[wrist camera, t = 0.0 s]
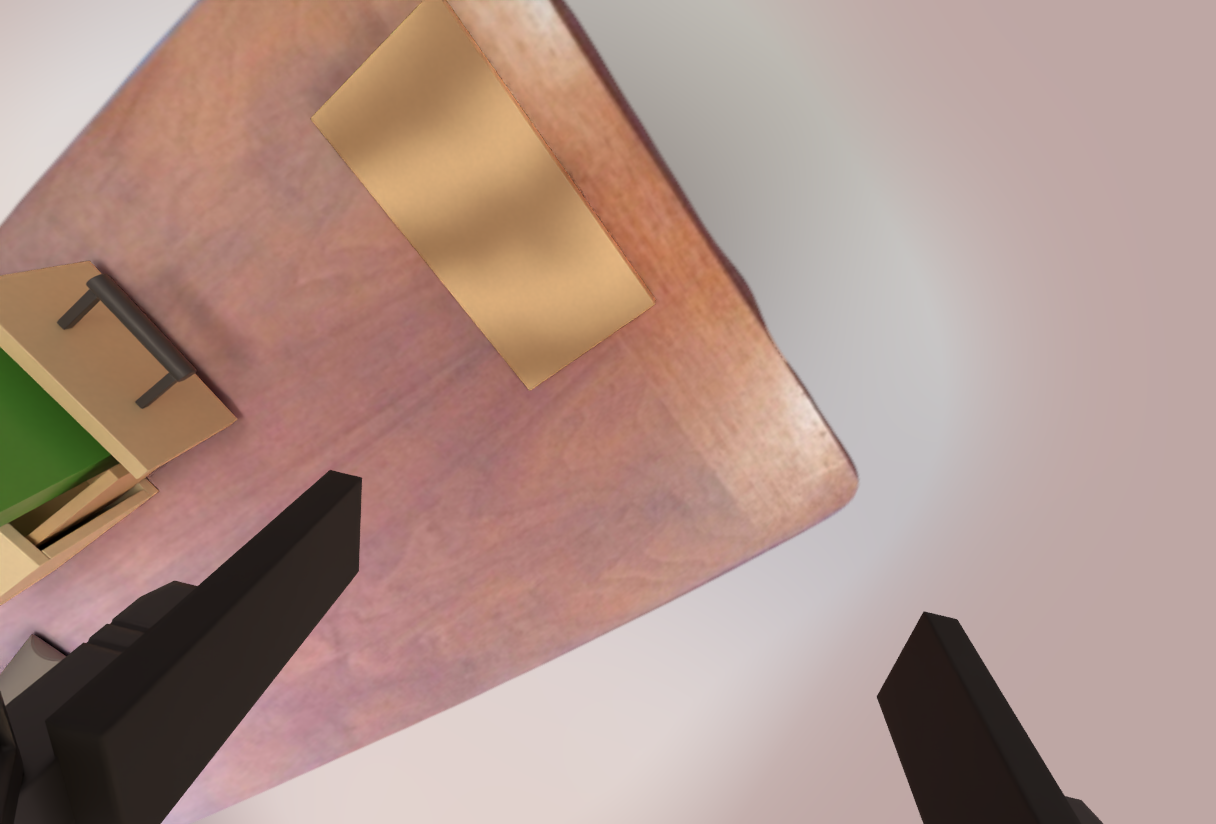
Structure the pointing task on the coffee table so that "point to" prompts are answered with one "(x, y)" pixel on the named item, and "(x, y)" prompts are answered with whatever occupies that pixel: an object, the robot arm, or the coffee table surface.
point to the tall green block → (39, 445)
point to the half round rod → (27, 667)
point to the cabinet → (59, 543)
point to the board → (481, 195)
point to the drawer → (103, 382)
